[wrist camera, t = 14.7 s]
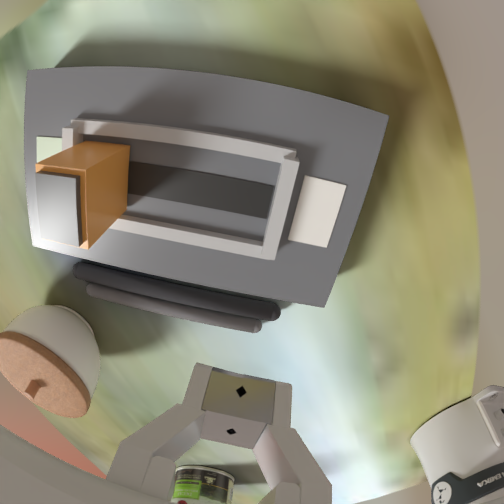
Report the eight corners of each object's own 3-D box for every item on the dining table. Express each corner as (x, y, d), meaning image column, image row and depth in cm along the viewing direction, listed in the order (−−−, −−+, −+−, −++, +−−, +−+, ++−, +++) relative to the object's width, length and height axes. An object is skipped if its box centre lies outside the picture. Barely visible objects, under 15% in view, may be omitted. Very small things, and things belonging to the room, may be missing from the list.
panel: (373, 110, 18) (397, 118, 14) (319, 282, 24) (326, 319, 21) (53, 68, 17) (15, 71, 13) (52, 228, 23) (24, 253, 20)
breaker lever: (130, 145, 17) (81, 172, 12) (126, 209, 19) (84, 253, 14) (86, 140, 17) (30, 166, 12) (85, 202, 18) (37, 242, 14)
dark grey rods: (282, 301, 25) (282, 312, 24) (273, 329, 27) (273, 341, 26) (76, 257, 24) (68, 266, 23) (80, 286, 26) (73, 296, 25)
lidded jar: (135, 342, 29) (101, 421, 21) (87, 374, 33) (57, 437, 25) (51, 265, 25) (-7, 333, 17) (18, 314, 29) (-24, 371, 21)
